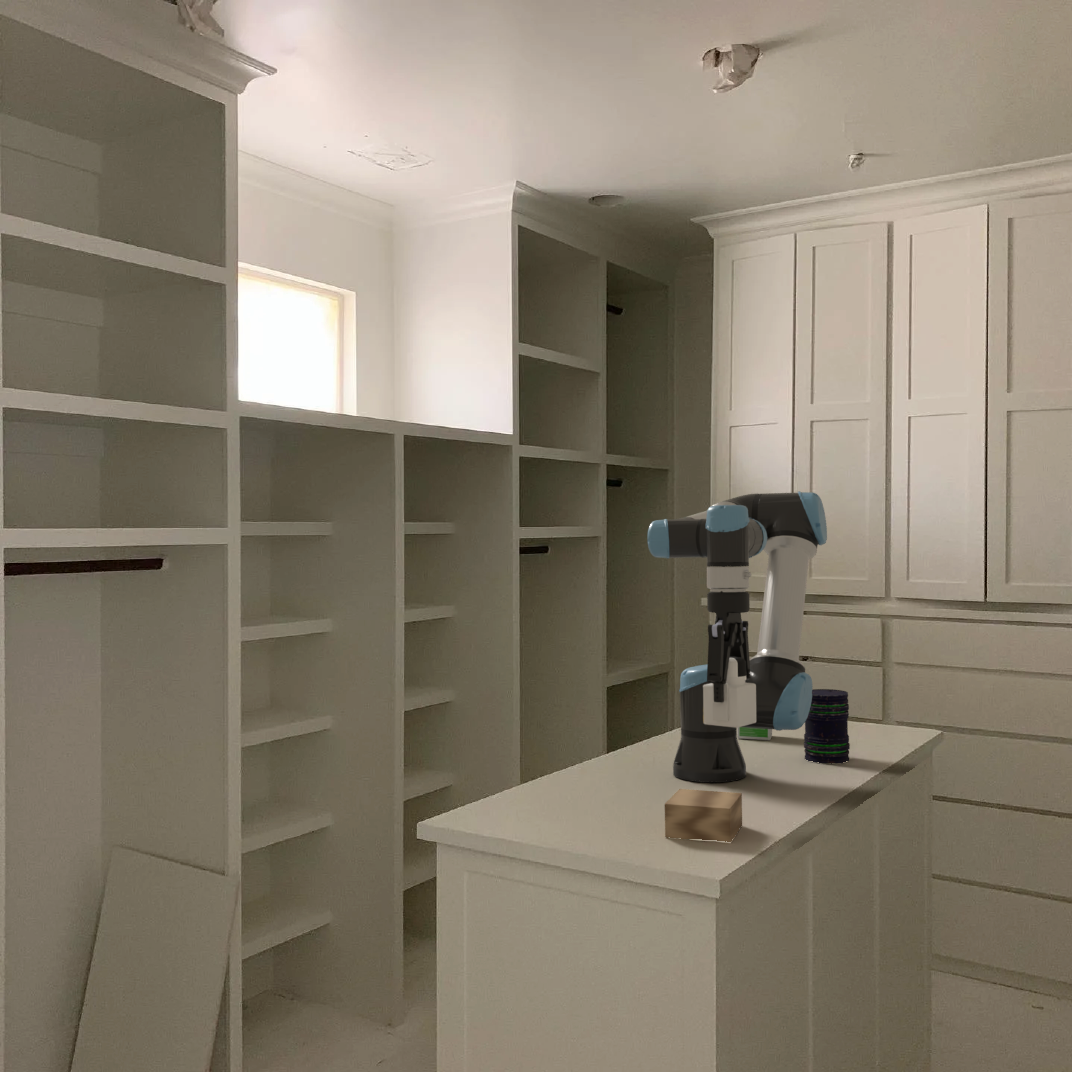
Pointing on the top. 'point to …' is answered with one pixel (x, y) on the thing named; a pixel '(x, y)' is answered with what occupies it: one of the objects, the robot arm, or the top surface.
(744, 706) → the medicine bottle
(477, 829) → the top surface
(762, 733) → the skincare box
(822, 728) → the storage jar
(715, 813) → the oak box
